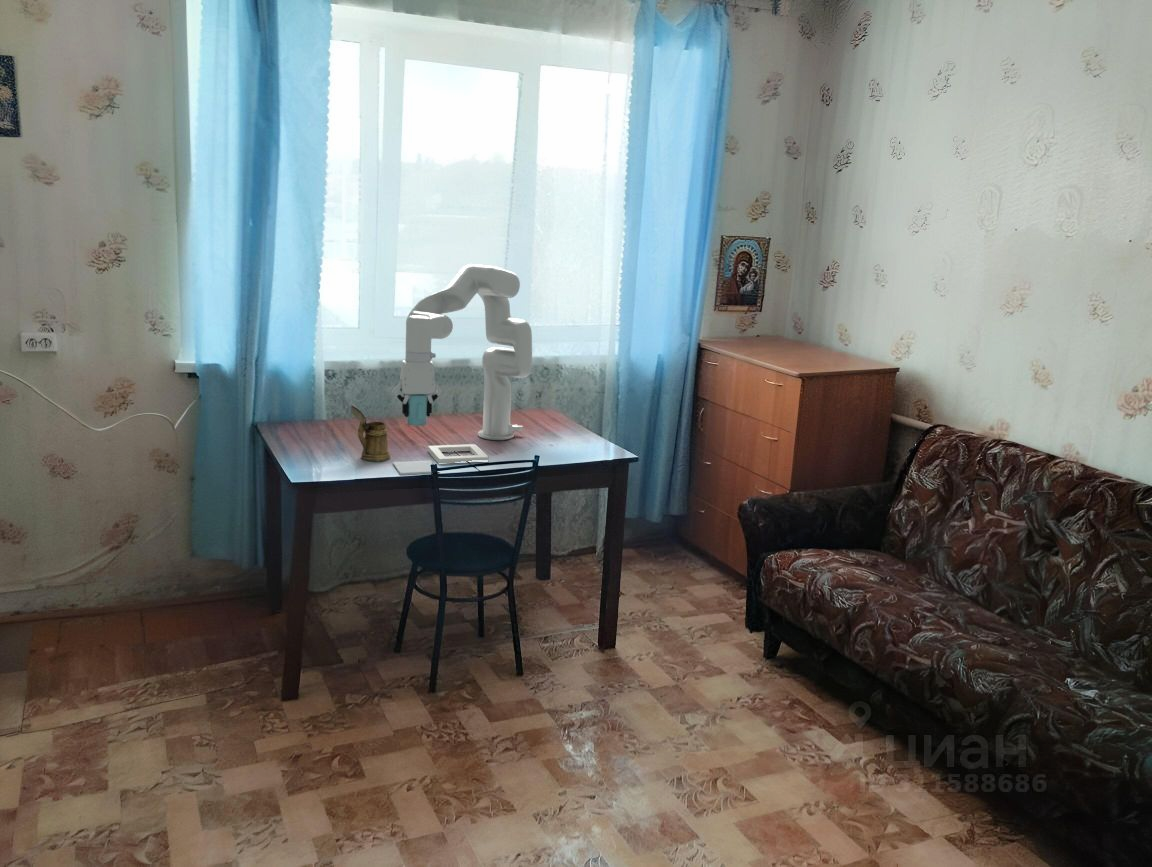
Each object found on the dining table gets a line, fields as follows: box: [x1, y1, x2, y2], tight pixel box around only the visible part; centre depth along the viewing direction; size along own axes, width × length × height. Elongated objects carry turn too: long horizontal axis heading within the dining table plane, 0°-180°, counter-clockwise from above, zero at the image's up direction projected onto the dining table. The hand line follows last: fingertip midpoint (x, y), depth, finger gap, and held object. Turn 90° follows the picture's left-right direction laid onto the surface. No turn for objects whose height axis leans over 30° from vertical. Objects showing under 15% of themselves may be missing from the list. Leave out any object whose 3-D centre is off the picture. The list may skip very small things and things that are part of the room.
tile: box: [392, 459, 434, 476], centre depth 303 cm, size 12×12×1 cm
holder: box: [427, 443, 489, 464], centre depth 319 cm, size 16×16×2 cm
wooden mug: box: [350, 405, 391, 462], centre depth 309 cm, size 9×14×18 cm, turn 134°
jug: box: [406, 395, 428, 427], centre depth 298 cm, size 8×6×9 cm
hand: (416, 415), depth 299 cm, fingers closed on jug, 6 cm apart
